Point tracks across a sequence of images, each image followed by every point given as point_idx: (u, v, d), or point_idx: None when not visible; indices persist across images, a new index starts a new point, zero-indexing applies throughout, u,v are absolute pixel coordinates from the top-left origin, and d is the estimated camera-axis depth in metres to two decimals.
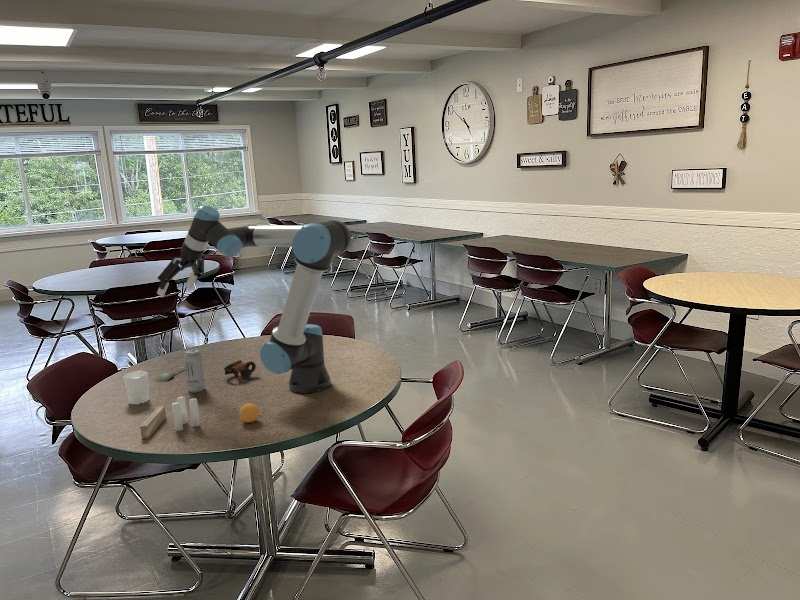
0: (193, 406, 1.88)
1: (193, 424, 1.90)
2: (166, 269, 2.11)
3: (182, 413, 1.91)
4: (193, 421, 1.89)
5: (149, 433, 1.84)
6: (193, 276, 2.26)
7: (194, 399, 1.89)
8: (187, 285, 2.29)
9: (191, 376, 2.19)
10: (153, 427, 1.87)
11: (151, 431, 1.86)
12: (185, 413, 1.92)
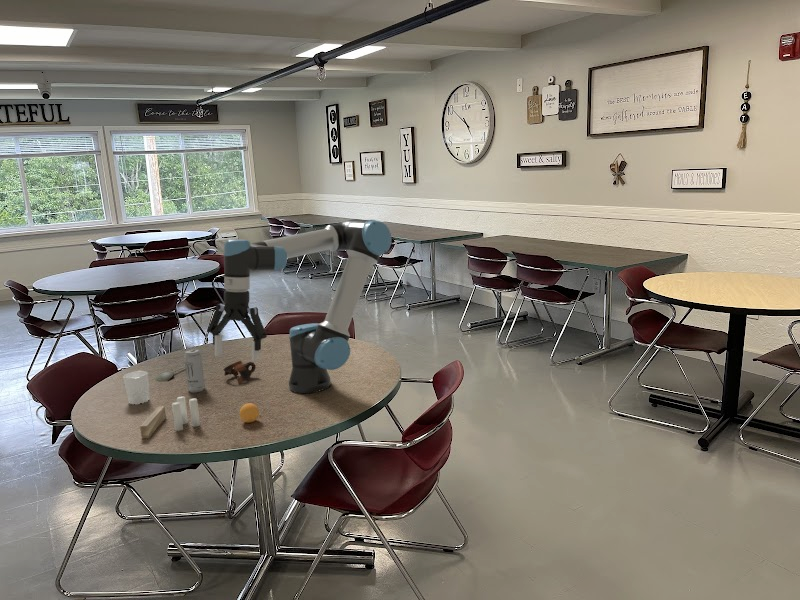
0: (193, 406, 1.88)
1: (193, 424, 1.90)
2: (258, 324, 1.83)
3: (182, 413, 1.91)
4: (193, 421, 1.89)
5: (149, 433, 1.84)
6: (219, 336, 1.89)
7: (194, 399, 1.89)
8: (218, 352, 1.89)
9: (191, 376, 2.19)
10: (153, 427, 1.87)
11: (151, 431, 1.86)
12: (185, 413, 1.92)
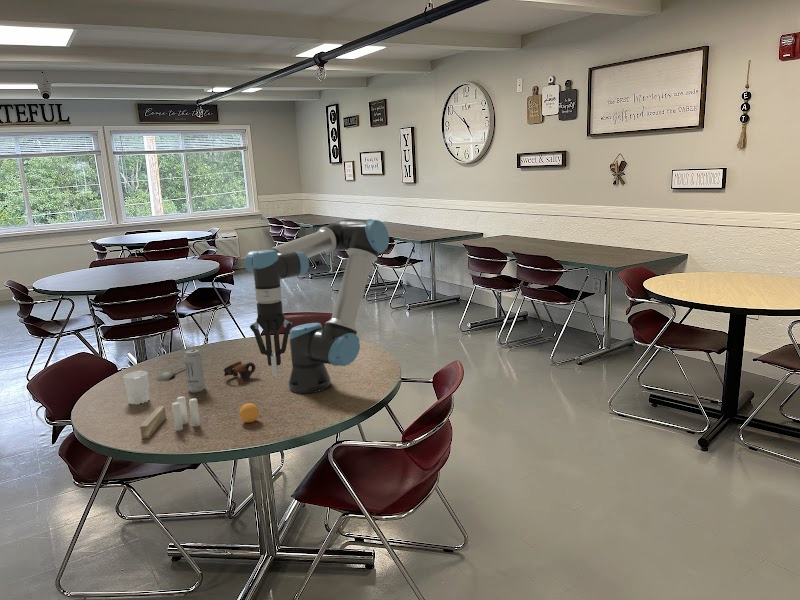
0: (193, 406, 1.88)
1: (193, 424, 1.90)
2: (287, 339, 1.86)
3: (182, 413, 1.91)
4: (193, 421, 1.89)
5: (149, 433, 1.84)
6: None
7: (194, 399, 1.89)
8: None
9: (191, 376, 2.19)
10: (153, 427, 1.87)
11: (151, 431, 1.86)
12: (185, 413, 1.92)
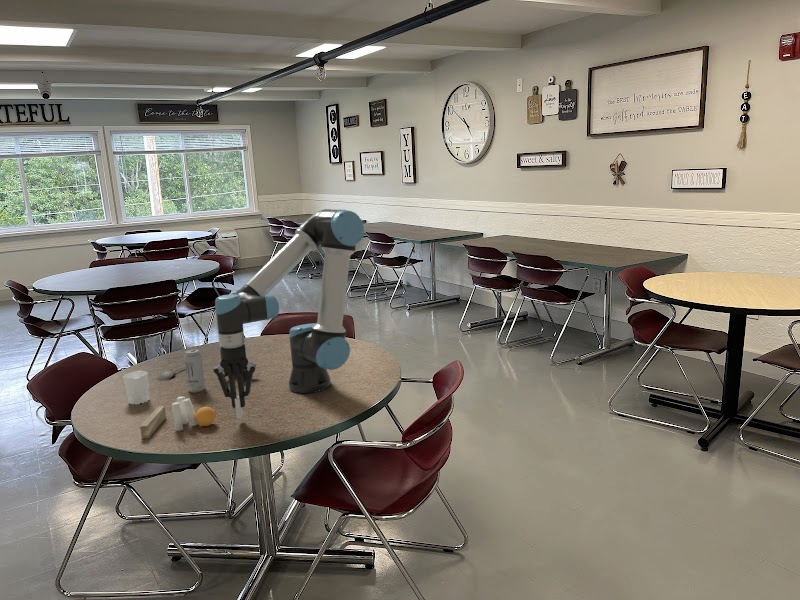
0: (187, 406, 1.88)
1: (192, 424, 1.90)
2: (250, 381, 1.88)
3: (182, 413, 1.91)
4: (191, 421, 1.89)
5: (149, 433, 1.84)
6: None
7: (187, 399, 1.89)
8: None
9: (191, 376, 2.19)
10: (153, 427, 1.87)
11: (151, 431, 1.86)
12: (185, 413, 1.92)
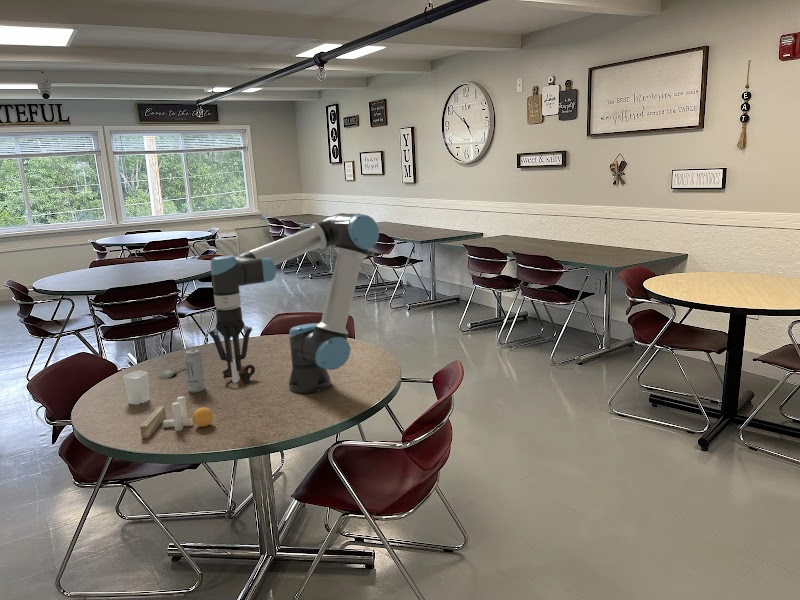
0: (168, 424, 1.89)
1: (188, 424, 1.90)
2: (247, 344, 1.86)
3: (182, 413, 1.91)
4: (184, 424, 1.90)
5: (149, 433, 1.84)
6: None
7: None
8: None
9: (191, 376, 2.19)
10: (153, 427, 1.87)
11: (151, 431, 1.86)
12: (185, 413, 1.92)
